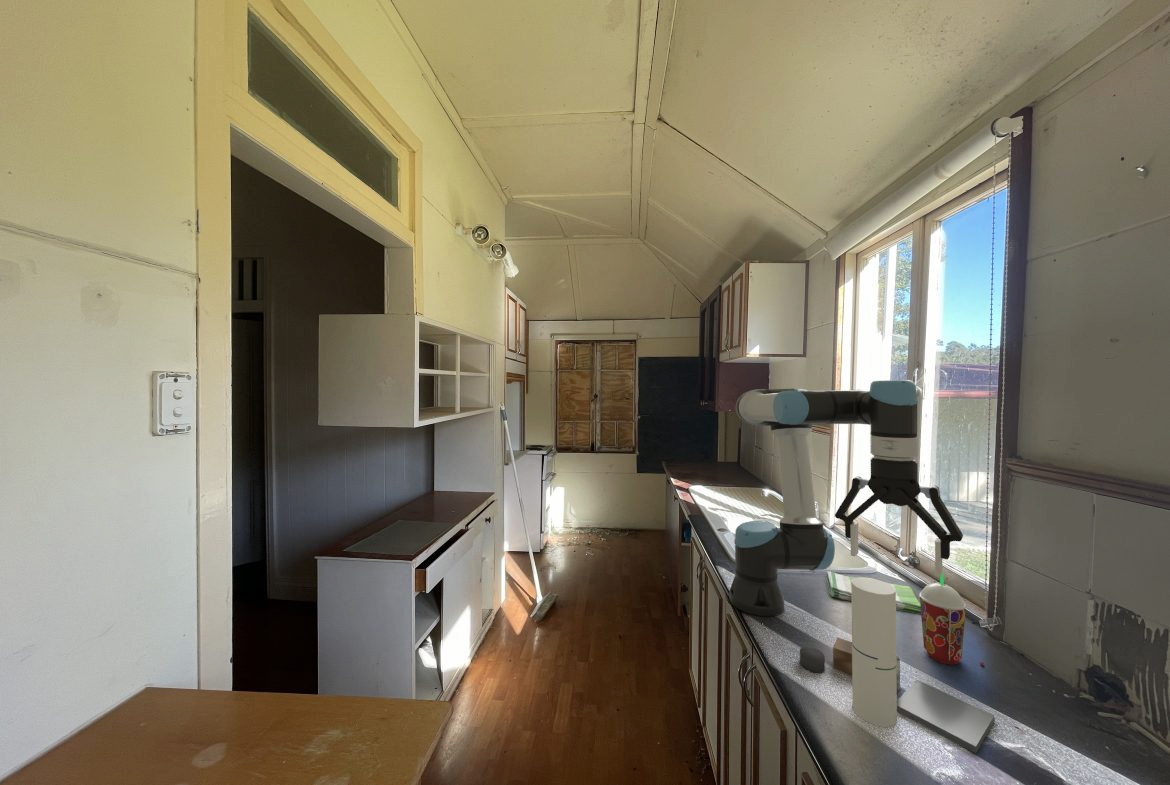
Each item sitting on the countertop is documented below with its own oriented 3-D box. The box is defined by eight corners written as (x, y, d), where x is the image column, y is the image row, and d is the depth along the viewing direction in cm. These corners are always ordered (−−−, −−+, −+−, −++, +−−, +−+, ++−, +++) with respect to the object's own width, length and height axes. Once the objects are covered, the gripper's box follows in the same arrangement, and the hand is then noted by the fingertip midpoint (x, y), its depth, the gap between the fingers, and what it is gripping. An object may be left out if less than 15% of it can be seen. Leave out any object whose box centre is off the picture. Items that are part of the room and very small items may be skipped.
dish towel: (825, 576, 141) (825, 566, 141) (909, 590, 131) (909, 579, 131) (830, 599, 126) (830, 588, 126) (925, 617, 116) (925, 604, 116)
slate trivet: (894, 709, 82) (894, 703, 82) (917, 685, 89) (917, 679, 89) (975, 753, 72) (975, 746, 72) (994, 721, 79) (994, 715, 79)
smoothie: (976, 671, 93) (975, 582, 93) (933, 666, 94) (932, 579, 94) (951, 648, 101) (950, 566, 101) (912, 644, 102) (911, 564, 102)
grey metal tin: (867, 682, 90) (867, 654, 90) (877, 673, 92) (877, 646, 92) (894, 695, 86) (894, 667, 86) (904, 686, 88) (903, 658, 88)
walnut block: (833, 669, 94) (833, 647, 94) (837, 658, 98) (837, 637, 98) (859, 679, 91) (859, 656, 91) (862, 667, 95) (862, 645, 94)
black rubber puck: (795, 664, 96) (795, 651, 96) (806, 656, 98) (806, 644, 98) (817, 677, 92) (817, 663, 92) (829, 668, 94) (828, 655, 94)
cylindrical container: (854, 693, 86) (853, 574, 86) (897, 710, 82) (896, 584, 82) (850, 714, 81) (848, 586, 81) (895, 733, 76) (894, 598, 76)
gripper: (818, 453, 89) (819, 551, 89) (978, 468, 71) (979, 591, 71) (829, 449, 94) (830, 542, 94) (981, 462, 76) (981, 577, 76)
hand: (894, 564), depth 82 cm, fingers open, 13 cm apart
